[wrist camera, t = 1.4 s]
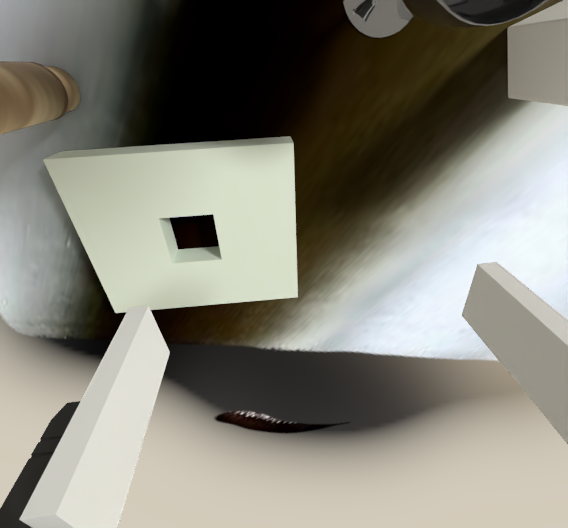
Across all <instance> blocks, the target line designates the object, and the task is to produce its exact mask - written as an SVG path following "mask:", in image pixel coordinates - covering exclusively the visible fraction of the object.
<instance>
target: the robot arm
mask: <svg viewBox="0 0 568 528" xmlns="http://www.w3.org/2000/svg"><path fill="white" fill-rule="evenodd" d="M462 316H463V317H464V319H465V320H466V321H467V322H468V323H469V325H470V326H471V327H472V328H473V330H474V331H475V332H476V333H477V334H478V336H479V337H480V338H481V339H482V340H483V342H484V343H485V344H486V345H487V347H488V348H489V349H490V350H491V351H492V353H493V354H494V355H495V356H496V357H497V359H498V360H499V361H500V362H501V364H502V365H503V366H504V367H505V368H506V370H507V371H508V372H509V373H510V375H511V376H512V377H513V378H514V379H515V380H516V382H517V383H518V384H519V385H520V387H521V388H522V389H523V390H524V392H525V393H526V394H527V395H528V396H529V398H530V399H531V400H532V401H533V402H534V404H535V405H536V406H537V407H538V409H539V410H540V411H541V412H542V413H543V415H544V416H545V417H546V418H547V419H548V421H549V422H550V423H551V424H552V426H553V427H554V428H555V429H556V430H557V432H558V433H559V434H560V435H561V436H562V438H563V439H564V440H565V441H566V442H567V444H568V320H567V319H565V318H564V317H563V316H562V315H561V314H559V313H558V312H557V311H556V310H554V309H553V308H552V307H551V306H550V305H548V304H547V303H546V302H545V301H543V300H542V299H541V298H540V297H539V296H537V295H536V294H535V293H534V292H532V291H531V290H530V289H529V288H528V287H526V286H525V285H524V284H523V283H521V282H520V281H519V280H518V279H517V278H515V277H514V276H513V275H512V274H511V273H509V272H508V271H507V270H506V269H504V268H503V267H502V266H501V265H500V264H498V263H497V262H493V263H485V264H478V265H477V268H476V271H475V275H474V278H473V281H472V284H471V287H470V291H469V294H468V297H467V300H466V303H465V307H464V310H463V313H462ZM169 353H170V352H169V350H168V348H167V345H166V343H165V341H164V339H163V337H162V334H161V332H160V330H159V328H158V326H157V323H156V321H155V319H154V317H153V315H152V312H151V310H150V308H149V306H142V307H134V308H129V309H128V311H127V313H126V315H125V317H124V319H123V321H122V322H121V324H120V326H119V328H118V330H117V332H116V334H115V336H114V338H113V340H112V342H111V344H110V346H109V348H108V350H107V352H106V354H105V355H104V357H103V359H102V361H101V363H100V365H99V367H98V369H97V371H96V373H95V375H94V376H93V379H92V380H91V382H90V384H89V386H88V388H87V390H86V392H85V394H84V396H83V398H82V400H81V401H79V402H71V403H67V404H66V405H65V406H64V407H63V408H62V409H61V410H60V411H59V412H58V413H57V414H56V415H55V417H54V418H53V419H52V420H51V422H50V423H49V425H48V427H47V428H46V430H45V432H44V434H43V435H42V437H41V441H40V442H39V443H38V444H37V446H36V448H35V449H34V451H33V453H32V454H31V455H32V457H31V459H29V460H28V461H27V463H26V465H25V467H24V468H23V470H22V472H21V474H20V475H19V477H18V479H17V481H16V482H15V484H14V486H13V488H12V489H11V491H10V493H9V495H8V496H7V498H6V500H5V502H4V503H3V505H2V507H1V508H0V528H118V525H119V522H120V518H121V515H122V511H123V508H124V505H125V501H126V498H127V495H128V491H129V488H130V485H131V481H132V478H133V475H134V471H135V468H136V464H137V461H138V457H139V454H140V451H141V447H142V444H143V441H144V438H145V434H146V431H147V427H148V424H149V421H150V417H151V414H152V410H153V407H154V404H155V400H156V397H157V394H158V390H159V387H160V384H161V380H162V377H163V373H164V370H165V366H166V363H167V360H168V357H169Z"/></svg>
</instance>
